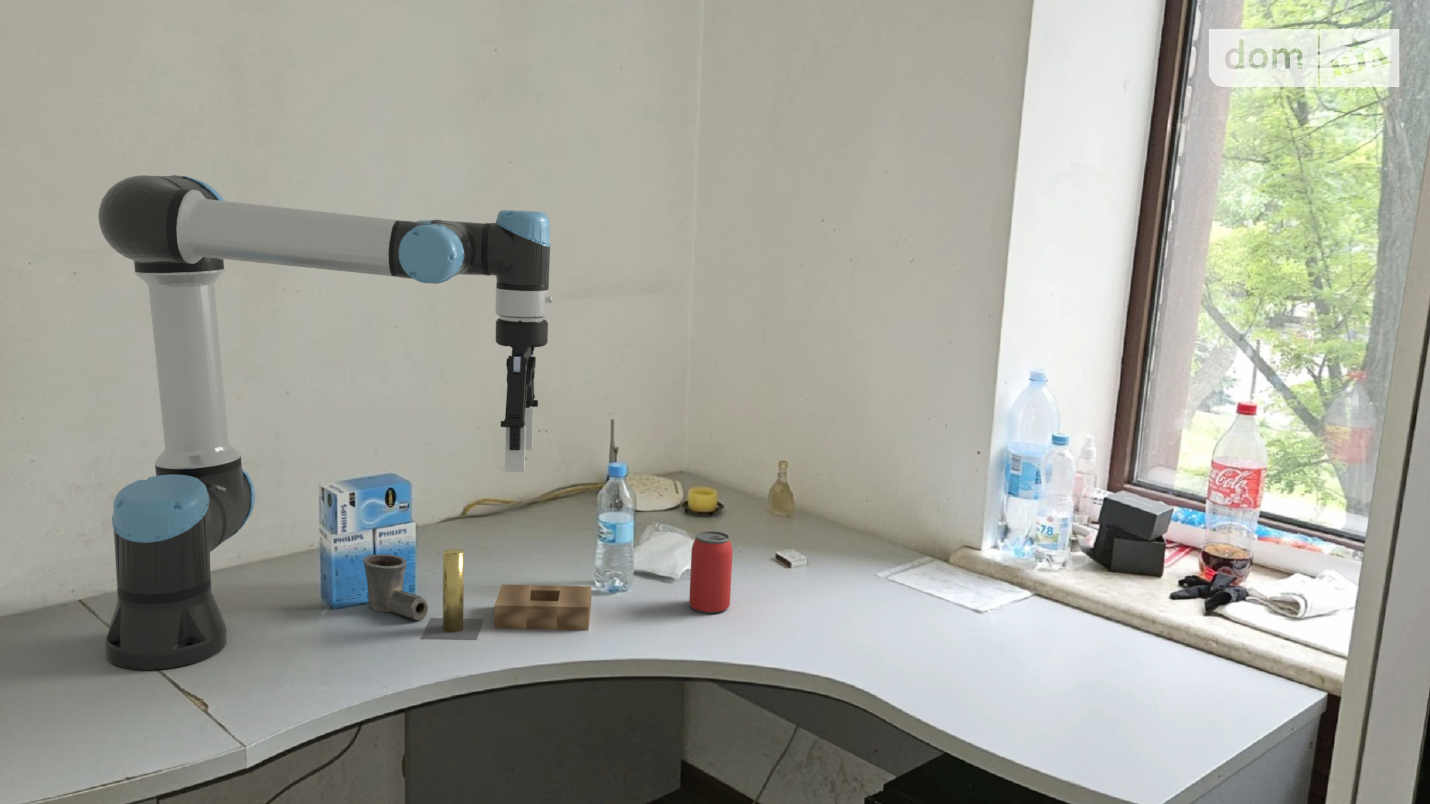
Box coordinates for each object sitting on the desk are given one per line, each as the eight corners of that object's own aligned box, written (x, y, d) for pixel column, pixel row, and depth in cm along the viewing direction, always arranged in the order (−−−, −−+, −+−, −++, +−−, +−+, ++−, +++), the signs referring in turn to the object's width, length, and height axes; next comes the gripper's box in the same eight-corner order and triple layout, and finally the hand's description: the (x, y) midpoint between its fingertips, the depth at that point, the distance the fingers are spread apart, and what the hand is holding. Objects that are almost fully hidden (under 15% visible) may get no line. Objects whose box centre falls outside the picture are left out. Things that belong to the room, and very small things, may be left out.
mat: (420, 641, 164) (420, 638, 164) (430, 620, 171) (430, 618, 171) (476, 642, 164) (476, 639, 164) (483, 621, 172) (483, 619, 172)
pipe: (405, 629, 168) (405, 578, 166) (353, 607, 175) (352, 558, 174) (438, 618, 172) (438, 568, 171) (386, 597, 180) (385, 549, 179)
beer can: (729, 615, 179) (733, 543, 177) (688, 613, 179) (691, 541, 177) (729, 601, 186) (733, 531, 183) (690, 598, 186) (693, 528, 183)
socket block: (494, 630, 169) (494, 605, 168) (501, 608, 178) (501, 584, 177) (588, 632, 170) (588, 607, 169) (590, 610, 179) (591, 586, 178)
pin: (441, 632, 166) (441, 554, 164) (444, 624, 169) (444, 548, 167) (461, 632, 166) (462, 555, 164) (464, 625, 169) (465, 548, 167)
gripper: (541, 329, 152) (538, 482, 156) (553, 309, 177) (550, 441, 181) (485, 327, 152) (483, 480, 155) (505, 307, 176) (503, 440, 180)
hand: (519, 460), depth 168 cm, fingers open, 13 cm apart
